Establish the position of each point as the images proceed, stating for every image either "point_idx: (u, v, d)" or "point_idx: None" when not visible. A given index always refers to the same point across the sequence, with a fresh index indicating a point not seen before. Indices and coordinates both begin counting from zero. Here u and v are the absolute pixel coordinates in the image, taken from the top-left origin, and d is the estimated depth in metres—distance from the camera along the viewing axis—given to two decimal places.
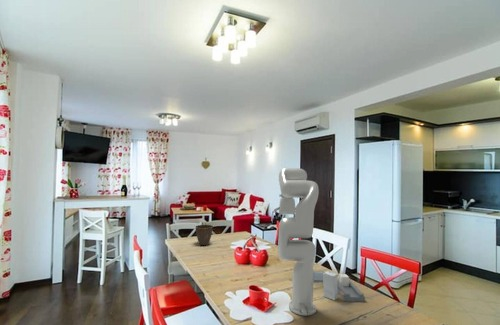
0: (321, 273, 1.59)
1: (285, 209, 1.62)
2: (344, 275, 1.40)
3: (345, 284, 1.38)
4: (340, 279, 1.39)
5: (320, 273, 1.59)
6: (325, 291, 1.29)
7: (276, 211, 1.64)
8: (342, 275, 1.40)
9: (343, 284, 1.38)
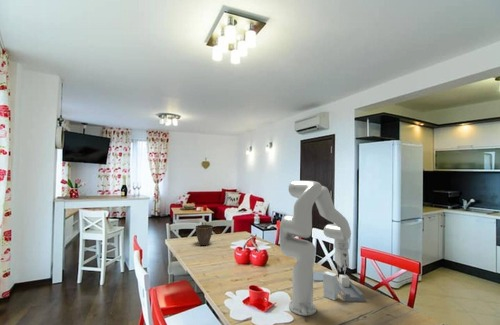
0: (321, 273, 1.59)
1: None
2: (344, 275, 1.40)
3: (345, 284, 1.37)
4: (340, 279, 1.39)
5: (320, 273, 1.59)
6: (325, 291, 1.29)
7: None
8: (342, 275, 1.40)
9: (343, 284, 1.37)
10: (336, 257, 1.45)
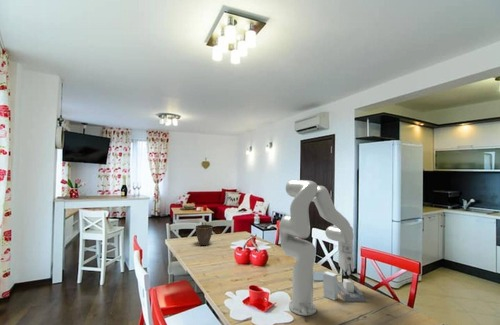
0: (321, 273, 1.59)
1: None
2: (349, 280, 1.34)
3: (350, 289, 1.31)
4: (345, 284, 1.33)
5: (320, 273, 1.59)
6: (325, 291, 1.29)
7: None
8: (347, 280, 1.34)
9: (348, 289, 1.31)
10: (340, 260, 1.39)
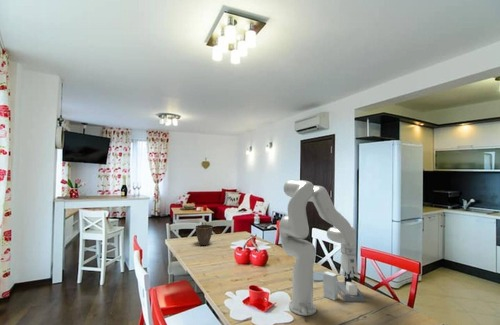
0: (321, 273, 1.59)
1: None
2: (352, 283, 1.30)
3: (353, 293, 1.28)
4: (348, 287, 1.29)
5: (320, 273, 1.59)
6: (325, 291, 1.29)
7: None
8: (350, 283, 1.30)
9: (351, 293, 1.28)
10: (343, 263, 1.35)
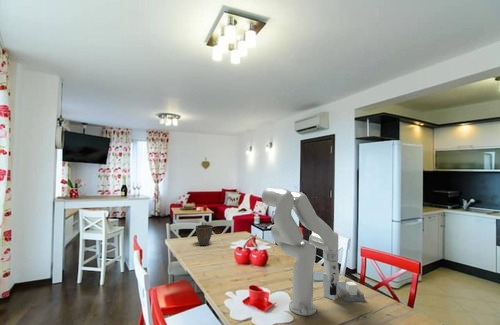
0: (321, 273, 1.59)
1: None
2: (352, 283, 1.30)
3: (353, 293, 1.28)
4: (348, 287, 1.29)
5: (320, 273, 1.59)
6: (325, 291, 1.29)
7: None
8: (350, 283, 1.30)
9: (351, 293, 1.28)
10: (325, 269, 1.31)
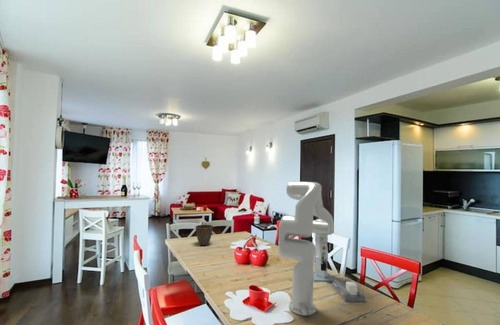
0: None
1: None
2: (352, 283, 1.30)
3: (353, 293, 1.28)
4: (348, 287, 1.29)
5: None
6: (317, 271, 1.54)
7: None
8: (350, 283, 1.30)
9: (351, 293, 1.28)
10: (316, 250, 1.56)
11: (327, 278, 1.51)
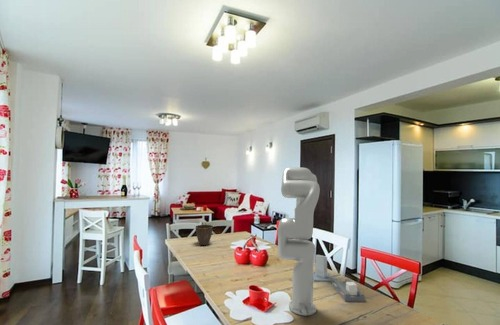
0: None
1: None
2: (352, 283, 1.30)
3: (353, 293, 1.28)
4: (348, 287, 1.29)
5: None
6: (317, 271, 1.54)
7: None
8: (350, 283, 1.30)
9: (351, 293, 1.28)
10: None
11: (327, 278, 1.51)
